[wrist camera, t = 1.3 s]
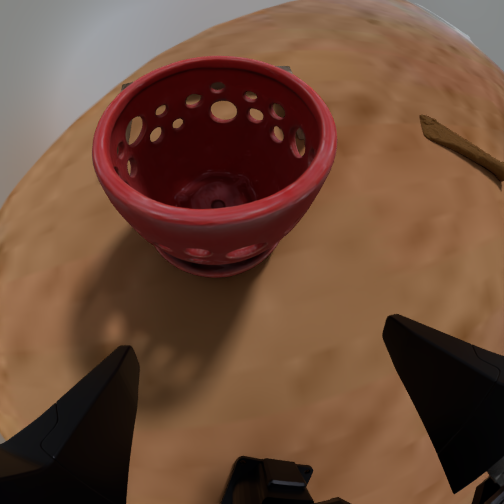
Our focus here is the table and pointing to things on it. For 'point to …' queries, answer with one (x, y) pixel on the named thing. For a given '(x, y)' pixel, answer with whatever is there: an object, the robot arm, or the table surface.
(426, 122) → the primitive tool
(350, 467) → the table surface
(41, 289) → the table surface
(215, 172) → the plant pot
